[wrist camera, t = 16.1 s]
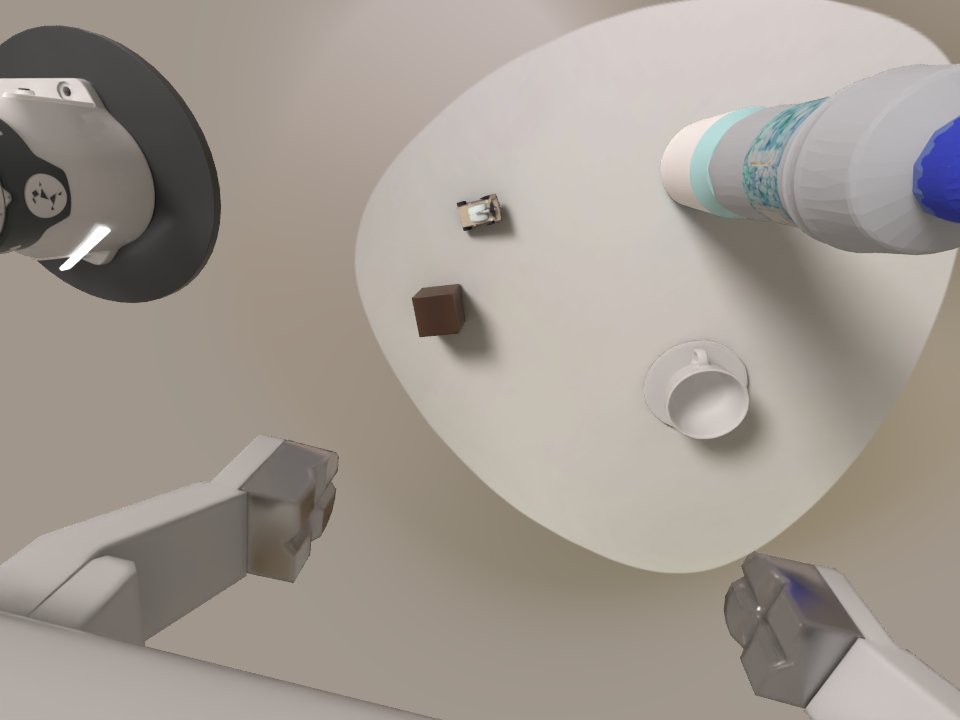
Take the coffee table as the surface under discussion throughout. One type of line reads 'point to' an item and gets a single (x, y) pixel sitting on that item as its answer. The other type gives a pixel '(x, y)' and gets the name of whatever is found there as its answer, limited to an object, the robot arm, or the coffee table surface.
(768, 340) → the coffee table surface
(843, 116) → the bottle
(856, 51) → the coffee table surface
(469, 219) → the toy car
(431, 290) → the walnut block
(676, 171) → the can
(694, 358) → the teacup
